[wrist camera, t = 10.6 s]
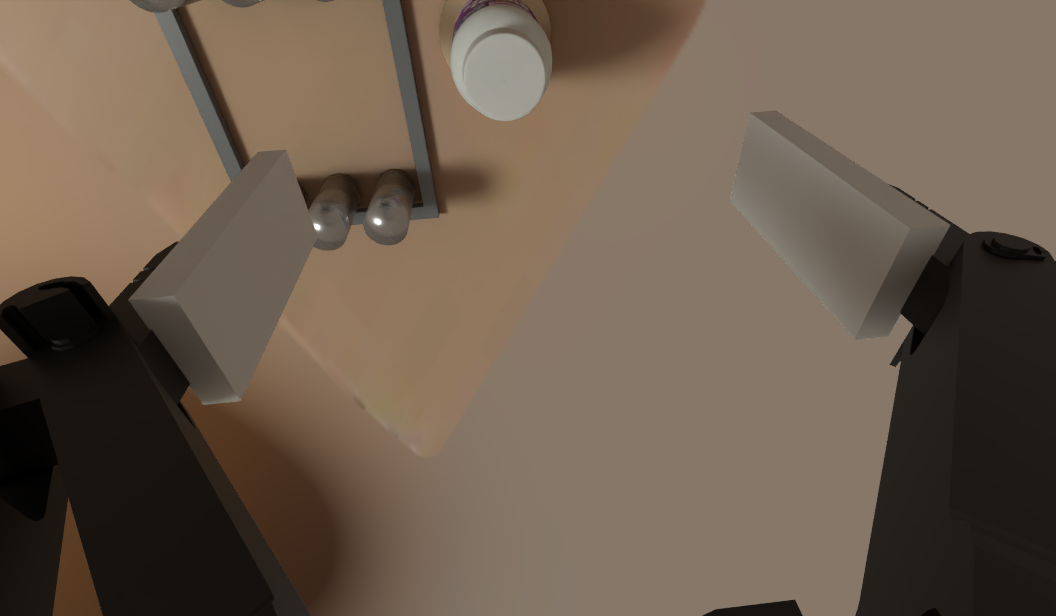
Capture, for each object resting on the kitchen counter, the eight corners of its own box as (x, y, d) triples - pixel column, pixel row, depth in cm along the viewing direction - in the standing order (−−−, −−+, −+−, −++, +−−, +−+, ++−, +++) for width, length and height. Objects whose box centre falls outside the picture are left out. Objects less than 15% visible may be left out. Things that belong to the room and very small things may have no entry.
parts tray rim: (115, -87, 26) (109, -87, 25) (382, -102, 27) (381, -103, 26) (257, 229, 38) (254, 233, 37) (439, 213, 38) (438, 217, 38)
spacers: (161, -63, 27) (96, -58, 22) (361, -75, 27) (339, -72, 23) (275, 214, 37) (248, 257, 33) (418, 202, 38) (411, 243, 33)
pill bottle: (523, -27, 29) (544, -5, 21) (548, 66, 32) (574, 114, 25) (437, 7, 29) (429, 40, 22) (471, 95, 33) (473, 150, 25)
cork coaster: (431, -27, 29) (430, -26, 29) (549, -34, 29) (550, -34, 29) (448, 98, 33) (448, 100, 33) (551, 90, 34) (552, 92, 33)
